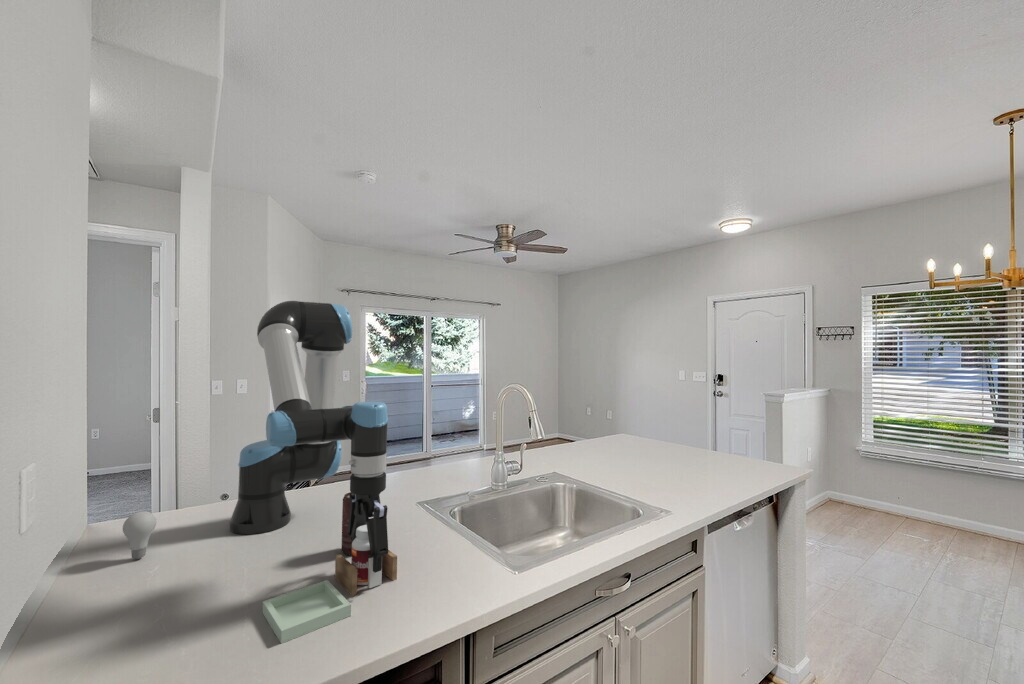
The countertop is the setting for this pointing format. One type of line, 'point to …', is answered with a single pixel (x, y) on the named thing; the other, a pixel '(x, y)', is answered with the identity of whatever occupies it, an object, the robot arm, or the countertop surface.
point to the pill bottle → (361, 554)
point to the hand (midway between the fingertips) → (365, 577)
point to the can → (346, 526)
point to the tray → (305, 610)
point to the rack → (348, 572)
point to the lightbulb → (139, 532)
